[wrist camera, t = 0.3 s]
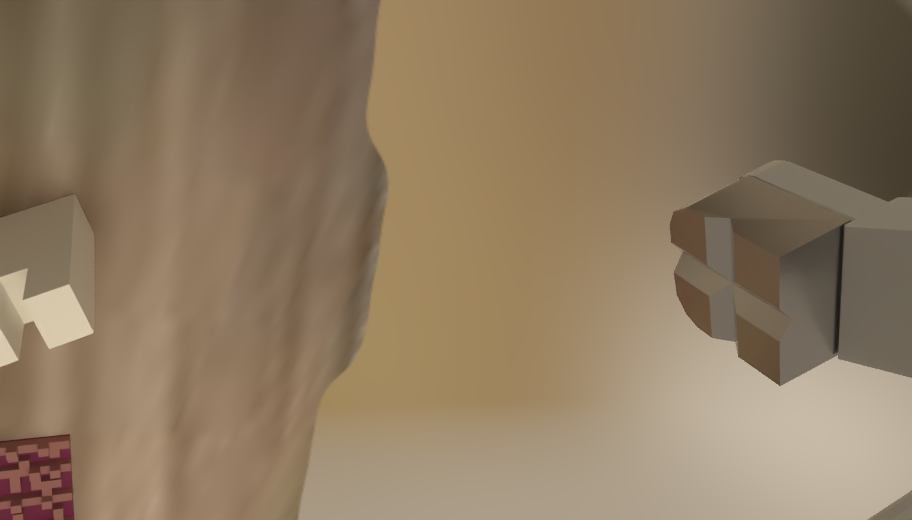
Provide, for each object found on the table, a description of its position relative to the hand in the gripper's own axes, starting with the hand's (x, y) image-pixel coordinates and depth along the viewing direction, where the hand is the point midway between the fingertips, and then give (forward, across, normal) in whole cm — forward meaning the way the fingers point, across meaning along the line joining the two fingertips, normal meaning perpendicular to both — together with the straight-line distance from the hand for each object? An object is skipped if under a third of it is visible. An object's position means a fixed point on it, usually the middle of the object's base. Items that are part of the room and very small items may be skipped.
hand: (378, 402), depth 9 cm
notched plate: (+47, +10, +14) cm, 50 cm away
